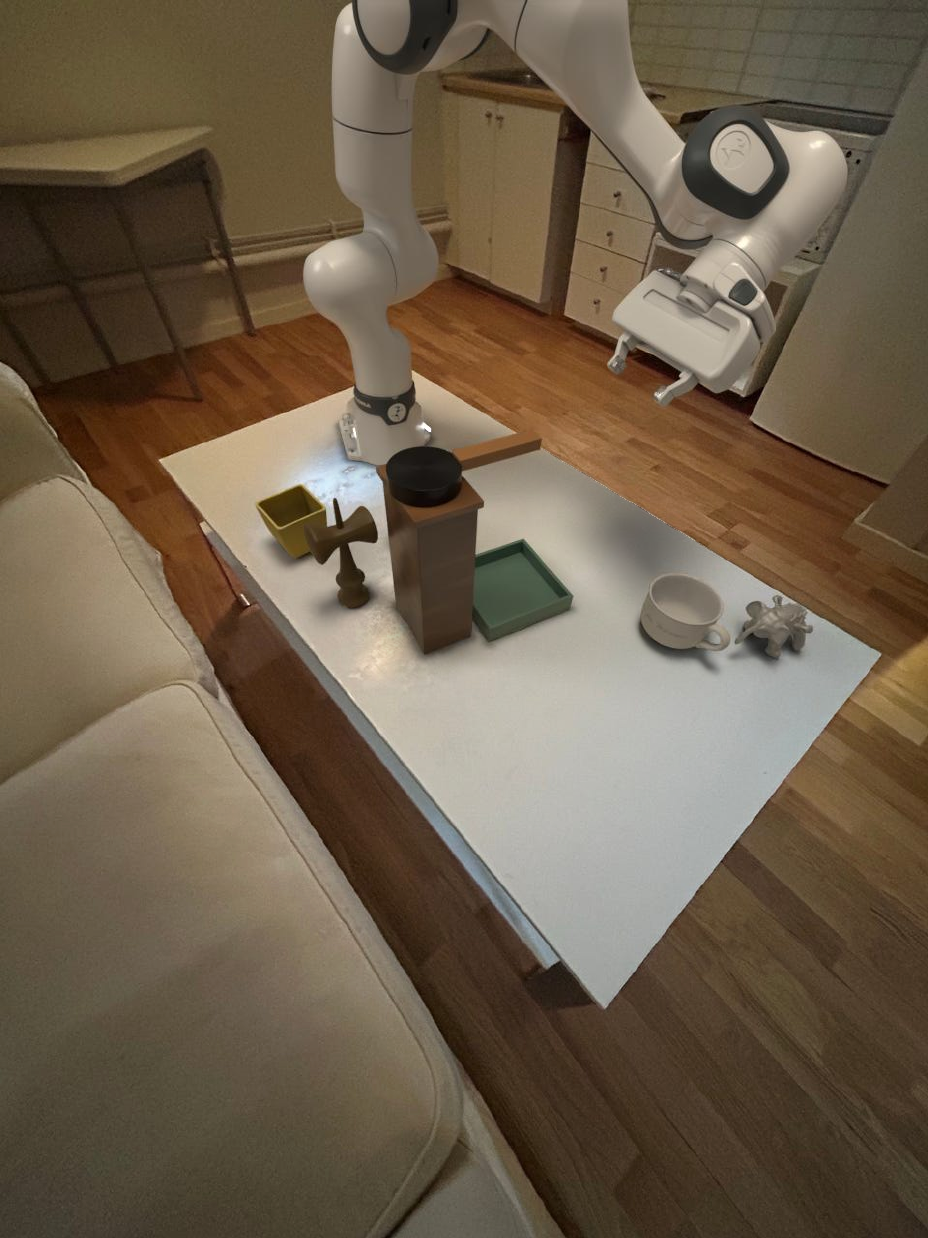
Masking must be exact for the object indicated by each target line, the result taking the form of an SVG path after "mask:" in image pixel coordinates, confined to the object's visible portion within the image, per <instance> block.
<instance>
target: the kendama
mask: <svg viewBox="0 0 928 1238" xmlns="http://www.w3.org/2000/svg"><path fill="white" fill-rule="evenodd" d="M332 506H333V507H332V508H333V513H334V519H335V524H333V525H328V526H327V527H324V526H318V525H314V524H309V523H305V524H304V528H303V530H304V535H305V538H306V541H307V544H308V546H309V549H310V553H311V554H312V556H313V558H314V560H315V561H316V562H317V564H319V565H320V566H323V565H325V564H326V563H327V561H328V560H329V559H330V557H331V556H332V555H333V553H334V552H336V550H337V549H339V571H338V573H337V574H336V575H335V582H336V584H337V586H339V589H338V591H337V596H336V597H337V600H338V602H339V603H340V604H341V605H342V606H344V607H346V608H356V607H359V606H362V605H364V604H365V603H367V602H368V601H369V599H370V595H371V592H370V590H369V588H368V587H367V586H366V585H365V584H364V582H365V581H366V575H365V572H364V571H363V570H362V569H361V568H359V567H358V566H357V565H356V562H355V559H354V556H353V553H352V550H351V547H350V545H349V544H351V543H357V542H360V543H369V544H376V543H377V542H378V540H379V531H378V527H377V524H376V521H375V519H374V517H373V515H372V513H371V512H370V510H369V509H368V508H367V507H366V506H364V505H359V506H358V507H357V508H356V509H355V510H354V511H353V512H352V513H351V515H349V517H348V518H346V519H345V520H343V517H342V512H341V508H340V505H339V501H338V499H337V497H333V499H332Z"/></svg>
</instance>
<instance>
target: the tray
mask: <svg viewBox="0 0 928 1238" xmlns="http://www.w3.org/2000/svg"><path fill="white" fill-rule="evenodd" d="M573 599H574V595H573V594H572V593H571V591H570V590H569V588H567V586H566V585H565V584H564V583H563V582H562V581H561V579H560V578H559V577H557V575H556V574H555V573H554V572H553V570H552V569H551V568H550V567H549V566H548V565H547V564H546V562H544V560H543V559H542V558H541V557H540V556H539V555H538V553H537V552H536V550H534V549H533V548H532V546H530V544H529V543H528V542H527V541H526V540H525V538H521V539H518V540H515V541H512V542H509V543H506V544H502V545H500V546H497V547H494V548H491V549H489V550H485V551H482V552H480V553H477V554H476V555H475V574H474V592H473V610H472V620H473V621H474V622H475V624H476V625H477V627H478V629H480V631H481V632H482V634H483V635H484V637H485V638H486V640H487V641H488V642H491V641H493V640H496V639H499V638H501V637H503V636H507V635H508V634H511V633H513V632H517V631H518V630H521V629H524V628H526V627H528V626H531V625H534V624H536V623H538V622H541V621H543V620H546V619H548V618H550V617H554V616H556V615H559V614H560V613H563V612H566V611H568V610H570V609H571V607H572V603H573Z"/></svg>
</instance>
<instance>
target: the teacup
mask: <svg viewBox="0 0 928 1238" xmlns="http://www.w3.org/2000/svg"><path fill="white" fill-rule="evenodd" d="M724 608H725V605H724V600H723V599H722V597H721V595H720V594H719V593H718V591H717V590H716V589H715V587H713V586H712V585H711V584H709V583H708V582H706V581H704V580H703V579H701V578H698V577H696V576H693V575H690V574H686V573H677V572H671V573H666V574H661V575H659V576H657V577H656V578H654V579H653V580H652V582H650V585H649V588H648V592H647V594H646V596H645V597H644V601H643V603H642V607H641V611H640V621H641V624H642V627H643V629H644V630H645V632H646V633H647V634H648V635H649V637H650V638H651V639H653V640H654V641H656V642H657V643H659V644H660V645H663V646H665V647H668V648H672V649H677V650H682V649H683V650H685V649H690V648H693V647H695V648H696V649H705V650H709V651H712V652H720V651H724V650H726V649H727V648H728V647H729V646H730V644H731V635H730V632H729V631H728V630H727V628H726V627H724V626H723V625H721V624H718V623H717V622H718V621H719V620H720V618H721V617H722V616H723V614H724ZM716 623H717V624H716ZM712 633H715V634H717V636H718V637H719V639H720V643H714V642H711V641H709V640H707V639H706V638H708V636H709V635H710V634H712Z"/></svg>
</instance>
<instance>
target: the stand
mask: <svg viewBox="0 0 928 1238" xmlns="http://www.w3.org/2000/svg"><path fill="white" fill-rule="evenodd" d="M375 472H376V475H377V476H378V477H379V479H380V480H381V482H382V490H383V498H384V499H383V501H384V508H385V517H386V525H387V537H388V546H389V553H390V555H389V556H390V564H391V573H392V582H393V591H394V600H395V607H396V608H397V610H398V612H399V613H400V616H401V618H402V619H403V620H404V622H405V624H406V626H407V627H408V629H409V631H410V632H411V634H412V636H413V637H414V639H415V641H416V643H417V645H418V646H419V648H420V650H421V651H422V653H423V655H427V654H430V653H432V652H435V651H437V650H441V649H442V648H444V647H448V646H451V645H452V644H455V643H457V642H460V641H463V640H465V639H468V638H470V637H472V625H473V618H472V610H473V592H474V574H475V555H476V553H477V535H478V517H479V510H481V509H484V507H485V500H484V499H483V498H482V497H481V496H480V494H479V493H478V492H477V490H475V488H474V487H473V486H472V485H471V484H470V482H469V481H468V480H467V479H466V478H465V477H464V475H462V487H461V490H460V492H459V494H458V495H457V496H456V497H455V498H454V499H453V500H451V501H449V502H447V503H445V504H442V505H439V506H434V507H414V506H409V505H406V504H403V503H401V502H399V501H397V500H396V499H395V498H393V497H392V495H391V494H390V493H389V491H388V488H387V478H386V464H384V465H381V466H378V465H376V466H375Z"/></svg>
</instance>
